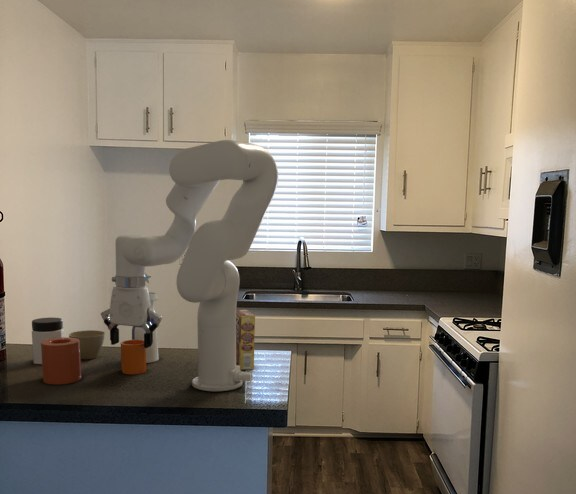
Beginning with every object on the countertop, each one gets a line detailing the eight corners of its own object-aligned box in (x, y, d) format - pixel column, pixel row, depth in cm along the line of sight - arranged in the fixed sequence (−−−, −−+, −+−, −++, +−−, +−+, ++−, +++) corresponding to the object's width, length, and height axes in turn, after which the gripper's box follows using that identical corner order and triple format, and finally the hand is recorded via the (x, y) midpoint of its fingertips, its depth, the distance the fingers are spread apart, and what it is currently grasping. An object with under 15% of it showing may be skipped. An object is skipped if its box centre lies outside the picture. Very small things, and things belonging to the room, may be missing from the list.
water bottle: (126, 358, 183) (123, 273, 179) (154, 354, 187) (152, 271, 183) (133, 364, 176) (130, 276, 172) (163, 361, 180) (160, 274, 176)
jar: (58, 356, 184) (56, 316, 182) (70, 361, 179) (68, 320, 177) (28, 361, 178) (25, 319, 176) (39, 366, 173) (36, 324, 171)
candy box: (255, 369, 172) (255, 314, 169) (240, 370, 170) (239, 315, 168) (248, 361, 180) (248, 309, 178) (233, 362, 179) (233, 309, 176)
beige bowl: (95, 362, 177) (94, 337, 176) (63, 360, 179) (61, 336, 178) (111, 354, 187) (110, 330, 186) (81, 352, 189) (80, 329, 188)
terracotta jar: (88, 375, 164) (86, 338, 162) (68, 385, 155) (66, 346, 154) (57, 373, 166) (55, 336, 165) (35, 382, 157) (33, 344, 156)
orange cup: (150, 368, 171) (149, 340, 170) (139, 375, 165) (138, 345, 164) (129, 367, 173) (128, 338, 172) (117, 373, 167) (116, 344, 165)
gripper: (93, 282, 164) (95, 345, 167) (154, 286, 160) (154, 351, 163) (108, 278, 171) (109, 339, 174) (167, 282, 167) (167, 345, 170)
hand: (131, 345), depth 168 cm, fingers open, 9 cm apart
